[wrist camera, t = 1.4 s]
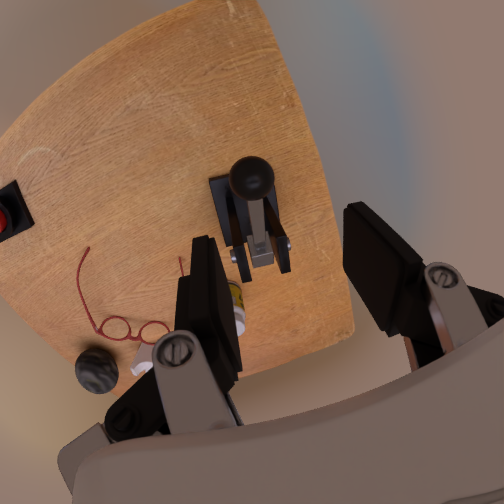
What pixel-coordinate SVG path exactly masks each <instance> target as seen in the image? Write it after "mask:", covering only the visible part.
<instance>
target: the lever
mask: <svg viewBox="0 0 504 504" xmlns="http://www.w3.org/2000/svg"><path fill="white" fill-rule="evenodd" d="M274 180H275V177H274V172H273V169H272V167H271V166H270V164H269V163H268V162H267V161H265V160H264V159H262V158H260V157H256V156H247V157H244V158H241V159H239V160H238V161H237V162H236V163H235V164H234V165H233V166H232V168H231V170H230V173H229V184H230V187H231V189H232V191H233V192H234V193H235V194H236V195H237V196H238V197H239V198H241V199H244V200H246V201H247V207H248V213H249V219H250V225H251V231H252V235H248V236H246V238H247V243H248V248H249V252H250V257H251V261H252V265H253V268H257V267H261V266H265V265H270V264H274V251H273V247H272V244H271V240H270V237H269V233H268V231H266V232H265V221H264V208H263V198H264V197H265V196H267V195H268V194H269V193H270V191H271V190H272V188H273V185H274Z"/></svg>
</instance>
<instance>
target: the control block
mask: <svg viewBox="0 0 504 504" xmlns="http://www.w3.org/2000/svg"><path fill="white" fill-rule="evenodd" d="M0 210H1V211H2V212H3V213H4V215H5V217H6V220H7V225H6V228H5V229H4V230H3V231H2V232H1V233H0V243H1V242H3V241H5V240H6V239H8V238H10V237H12V236H14V235H16V234H18V233H20V232H22V231H24V230H27V229H29V228H31V227H32V226H33V225H34V224H35V223H34V221H33V219H32V217H31V215H30V213H29V211H28V208H27V206H26V204H25V201H24V199H23V197H22V194H21V192H20V189H19V187H18V184H17V182H16V180H14V181H13V182H11V183H10V184H8V185H7V186H5V187H4V188H3V189H1V190H0Z"/></svg>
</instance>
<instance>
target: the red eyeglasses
mask: <svg viewBox="0 0 504 504" xmlns="http://www.w3.org/2000/svg"><path fill="white" fill-rule="evenodd" d="M89 250H90V247H88V248H87V250H86V252H85V254H84V255H83V257H82V259H81V261H80V264H79V266H78V270H77V278H76V280H77V287H78V290H79V294H80V297H81V300H82V302H83V305H84V307H85V310H86V312H87V315H88V318H89V320H90V322H91V324H92V326H93V328H94V330H95V332H96V333H97V334H99V335H101V336H103V337H105V338H108V339H110V340H115V341H123V340H126V339H130V340H132V341H139V340H140V341H141V342H143V343H145V344H147V345H153V346H154V345H155V344H152V343H148V342H146V341H144V340H143V339H142V337H141V331H142V329H143V328H144V327H145V326H147V325H149V324H152V323H158V324H162V325H163V326H165V327H166V328H167V330H168V333H169V332H170V330H169V328H168V327H167V326H166V325H165V324H164V323H162V322H158V321H151V322H148V323H146V324H145V325H144V326H143V327H142V328H141V329H140V331H139V333H138V336H137V337H132V336H131V328H130V325H129V324H128V322H127V321H126V320H125V319H124V318H122V317H118V316H112V317H109V318H107V319H105V320H104V321H103V323H102V324H101V326H100V328H99V329H98V328H97V327H96V325H95V323H94V321H93V319H92V317H91V315H90V313H89V311H88V309H87V306H86V304H85V301H84V299H83V296H82V293H81V290H80V286H79V271H80V268H81V265H82V262H83V260H84V259H85V257H86V255H87V254H88V252H89ZM179 263H180V267H181V272H182V277H183V276H184V274H183V269H182V264H181V259H180V257H179ZM113 318H119V319H122V320H124V321H125V322H126V323H127V324H128V326H129V332H128V335H127V336H126V337H124V338H122V339H114V338H110V337H108V336H106V335H105V334H104V333H103V331H102V327H103V325H104V323H105V322H106V321H108V320H109V319H113Z"/></svg>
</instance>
